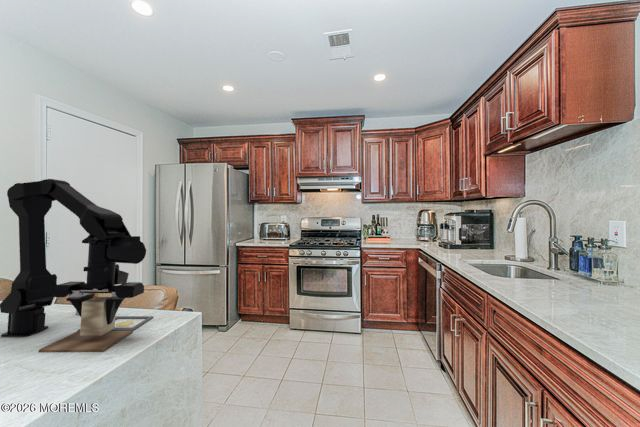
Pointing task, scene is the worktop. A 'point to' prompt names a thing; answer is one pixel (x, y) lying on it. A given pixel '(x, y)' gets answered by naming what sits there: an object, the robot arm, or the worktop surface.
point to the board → (86, 342)
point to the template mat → (147, 318)
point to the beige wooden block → (95, 317)
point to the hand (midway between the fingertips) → (98, 323)
